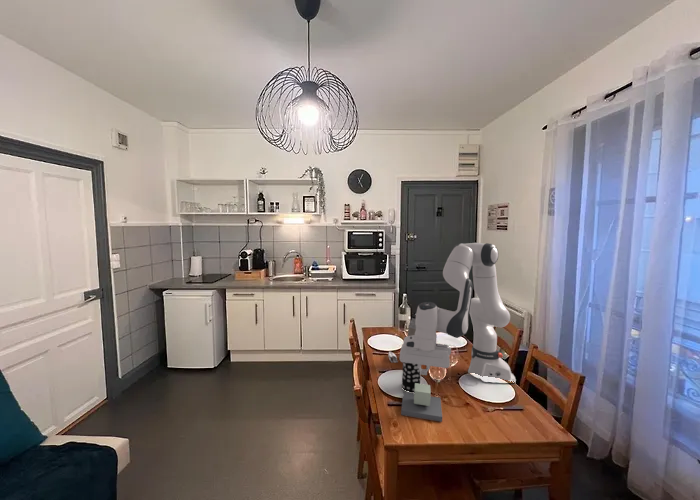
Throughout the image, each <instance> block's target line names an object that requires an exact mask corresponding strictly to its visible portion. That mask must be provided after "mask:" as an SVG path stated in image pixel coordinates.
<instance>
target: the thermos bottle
mask: <svg viewBox="0 0 700 500" xmlns="http://www.w3.org/2000/svg"><path fill="white" fill-rule="evenodd" d="M415 320H416V314H412V315H411V320H410V321H409V324H408V329H407V330H408V331H407V336H412V335H415V331H416V325H415Z"/></svg>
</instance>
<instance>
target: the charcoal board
mask: <svg viewBox="0 0 700 500" xmlns="http://www.w3.org/2000/svg"><path fill="white" fill-rule="evenodd" d="M441 398H442V397H439V396H438V397H437V396H432V395H431V397H430V406H426V405H424V406H419V404H414V393H409V392H406V391H404V392H403V393H402V402H401V412H400V414H401V416H404V417H405V416H406V417H412V418H417V419H423V420H429V421H435V422H440V423H442V422H443V411H442V410H443V409H442V400H441Z"/></svg>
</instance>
